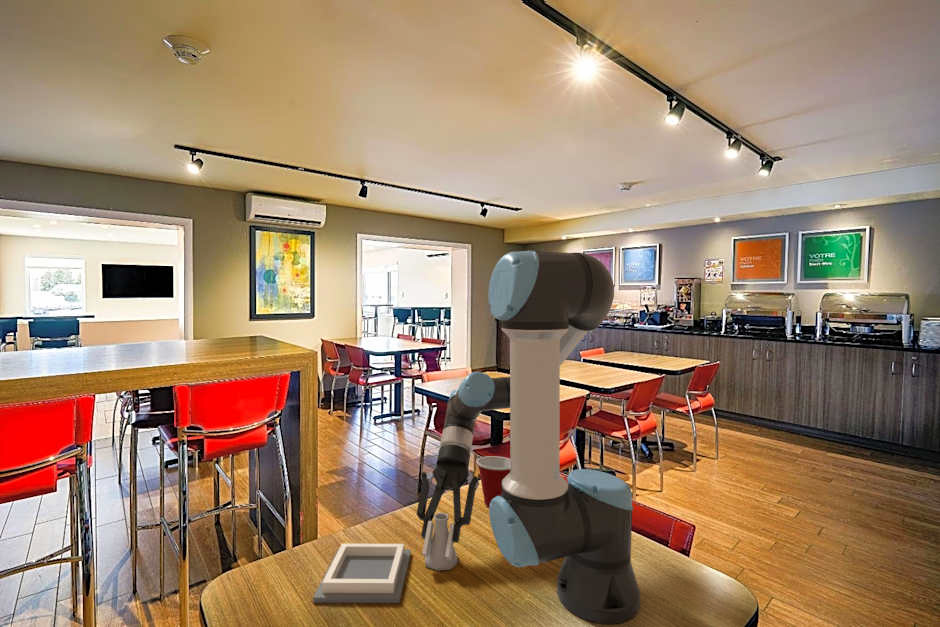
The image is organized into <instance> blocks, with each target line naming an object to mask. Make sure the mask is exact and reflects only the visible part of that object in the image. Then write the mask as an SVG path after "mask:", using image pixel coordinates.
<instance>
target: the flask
mask: <svg viewBox="0 0 940 627" xmlns="http://www.w3.org/2000/svg"><path fill="white" fill-rule="evenodd" d="M449 517H450V516H449V514H448V513H447V512H436V513H435V514H434V517H433V521H434V522H435V523H434V530H433V535H432V541H431V546H430V552H429V557H428V558H426V557H424V561H425V562H424V563H425V568H429V569H432V570H435V571H447V570H449V571H450V570H452V569H453V568H454V567H456V565H458V562H459V561H458V555H457V551H456V549H455V546H454V545H453V550H452V557H451V560H447V559H446V557H445V554H446V548H447V542H448V535H449V528H448V527H449V526H448V520H449Z"/></svg>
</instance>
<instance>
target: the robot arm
mask: <svg viewBox="0 0 940 627" xmlns="http://www.w3.org/2000/svg"><path fill="white" fill-rule="evenodd" d="M614 285H615V284H614V280H613V277H612V275H611V273H610V271H609V269H608V268H607V267H606V265H605V264H604V263H603V262H602V261H601V260H599V259H598V258H597V257H596V256H593V255H590V254H588V253H583V252H565V251H564V252H560V251H558V252H557V251H546V250H544V251H543V250H522V251H519V250H518V251H511V252H507V253H506V254H504V255H503V256H502V257H501V258H499V260H498V261H497V263H496V264H495V267H494V268H493V270H492V273H491V276H490V279H489V285H488V286H489V287H488V293H487V294H488V306H490V309H489V310H490V313H491V315H492V316H493V317H494V318H495V319H496V320H498V321H500V324H501V326H500V328H501V329H500V330H501V331H502V332H503V333H505V335H506V336H507V337H508V339H509V369H510V370H509V376H500V377H491V376H490V375H488V374H487V373H484V372H482V371H473V372H471V373H468V375H467V376H466V377H465V378H464V379H463V380H462V381H461V382H460V384H459V386H458V388H456V389H454V390H452V391H451V392H450V395H449V397H448V398H449V399H448V401H447V405H446V406H447V408H446V411H445V412H446V414H445V418H444V425H443V429H442V433H441V438H440V442H439V447H440V448H439V449H438V453H437V458H436V465H435V466H434V468H433V469H432V471H429V472H425V471H423V472H421V474H420V476H421V488H420V494H419V497H418V498H419V499H418V503H417V510H416V516H417V518H418V519H419V520H420V521H423V523H422V524H423V525H422V527H421V538H422V539H424V542H423V548H422V551H421V554H422V555H423V557H424V558H425V557H426V558H428V557H429V552H430V546H431V541H432V538H433V535H434V530H435V523H434V522H433V521H434V515H436V513H437V509H438V507H439V503H440V501H441V498H442V497H443V495H444V493H445V491H451V492H452V494H453V496H452V497H453V498H452V499H453V517H454V519H453V522H454V523H453V522H450V523H449V528H448V532H449V535H448V542H447V548H446V554H445V557H446V559H447V560H451V557H452V550H453V546H454V543H456V544H458V542H459V541H460V537H461V536H460V534H461V528H462V527H463V526H468V525H470V523H471V521H472V513H473V507H474V500H475V496H476V491H477V489H478V487H479V485H480V481H479V478H478V476H473V475H471V474H470V472H469V466H470V460H471V451H472V445H473V437H474V431H475V425H476V420H477V419H478V417H479V416H480V414H482V412H486V411H487V412H488V411H495V410H503V409H510V410H509V413H510V414H509V416H510V418H509V419H510V420H509V422H510V423H509V424H510V425H509V427H510V428H509V429H510V430H509V438H510V440H509V442H510V443H509V446H510V449H509V450H510V451H509V455H510V456H509V459H510V473H509V474H508V475H507V476H506V477H505V478H504V479H503V480H502V495H501V496H496V497H495V498H493V499H492V500H491V503H490V506H489V508H488V513H489V522H490V526H491V530H492V534H493V537H494V540H495V542H496V545H497V547H498V549H499V551H500V552H501V555H502V556H503V557H504V559H505V560H506V561H507V562H508V563H509V564H510V565H511V566H514V567H516V568H524V567H525V568H526V567H529V566H534V567H535V566H538V565H539V564H543V563H546V562H552V561H554V560H558V559H563V561H562V564H561V566H560V570H559V572H558V575H557V579H556V592H557V593H556V594H557V597H558V599H559V601H560V603H561V604H562V605H563V607H564V608H565V609H567V610H568V611H569V612H570V613H572V614H573V615H575V616H577V617H579V618H581V619H583V620H586V621H589V620H590V622H592V621H594V622H593V623H596V622H600V623H599V624H603V623H611V624H610V625H613V624H612V623H615V624H619V623H625V622H628V621H629V620H631V619H633V618H634V617H635V616H636V615H637V614H638V613H639V610H640V606H641V605H640V602H641V591H640V587H639V584H638V581H637V577H636V574H635V570H634V568H633V564H632V561H631V559H632V558H631V556H632V555H631V553H632V530H633V528H632V527H633V526H632V525H633V524H632V523H633V510H634V506H633V497H632V496H633V492H632V489H631V487H630V485H629V484H628V483H627V482H625V481H624V480H623V479H621V478H619V477H618V476H616V475H613V474H611V473H608V472H605V471H604V472H603V471H601V470H595V469H587V468H586V469H585V468H581V469H580V468H579V469H578V468H577V469H574V470H571V471H570V472H569V473H568V476H567V478H566V479H564V477H563V476H562V475H560V456H561V454H560V449H561V448H560V447H561V446H560V440H561V439H560V431H561V430H560V429H561V428H560V427H561V426H560V425H561V424H560V417H561V415H560V414H561V413H560V412H561V410H560V403H561V402H560V401H561V400H560V394H561V393H560V392H561V390H560V389H561V387H560V386H561V385H560V383H561V382H560V381H561V380H560V378H561V376H560V375H561V372H560V371H561V368H560V367H561V366H562V364H564V362H565V361H566V359H567V358H569V356H570V354H571V353H572V352H573V350H574V349H575V348H576V347H577V345H578V344H579V343H580V342H581V341H582V340H583V337H585V336H586V334H587V333H589V332H593V331H596V330H597V329H598V328H599V327H600V326H601V324H602V322H604V320H605V319H606V317H607V316H608V315H609V313H610V311H611V308H612V305H613V302H614V297H615V286H614ZM433 478H434V479H435V482H436V485H435V488H434V491H433V493H432V497H431V499H430V501H429V504H428V506H427V503H428V498H429V492H430V484H431V483H432V481H433ZM466 482H467V484H468V489H467V495H466V499H465V500H466V501H465V506H464V510H463V516H462V507H461V506H462V505H461V504H462V503H461V488H462V486H464V484H465V483H466Z"/></svg>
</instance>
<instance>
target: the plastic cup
mask: <svg viewBox="0 0 940 627" xmlns="http://www.w3.org/2000/svg"><path fill="white" fill-rule="evenodd" d="M476 465H477V467H478V471H479V476H480V477H479V478H480V483H481V489H482V494H483V502H484V504H485V506H486V505H487V506H488V507H489V506H490V503H491V500H492V499H493V498H495V497H496V496H501V495H502V480H503V479H504V478H505V477H506V476H507V475H508V474H509V473H510V457H509V458H508V457H506V456H496V455H494V456H492V455H491V456H489V455H488V456H482V457H479V458H477V459H476ZM487 506H486V507H487ZM488 507H487V508H488Z"/></svg>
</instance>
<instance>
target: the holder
mask: <svg viewBox="0 0 940 627" xmlns="http://www.w3.org/2000/svg"><path fill="white" fill-rule="evenodd" d="M411 554H412V551H411V549H410V548H408V549H407V548H406V549H405V544H404V543H348V542H347V543H345V542H343V543H341V545H340V547H339V548H338V549H337V550H336V551H335V554H334V556H333V557H332V559H331V561H330V564H329V566H328V567H327V569H326V570H325V574H324V576H323V578H322V579H321V581H320V583H319V585H318V587H317V588H316V591H315V593H314V595H313V597H312V600H313V602H312V603H313V604H315V603H316V604H318V603H320V604H321V603H322V604H323V603H324V604H325V603H327V604H328V603H329V604H330V603H331V604H334V603H335V604H337V603H338V604H400V602H401V599H402V594H403V589H404V585H405V580H406V577H407V576H406V575H407V573H408V567H409V564H410V558H411Z"/></svg>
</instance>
